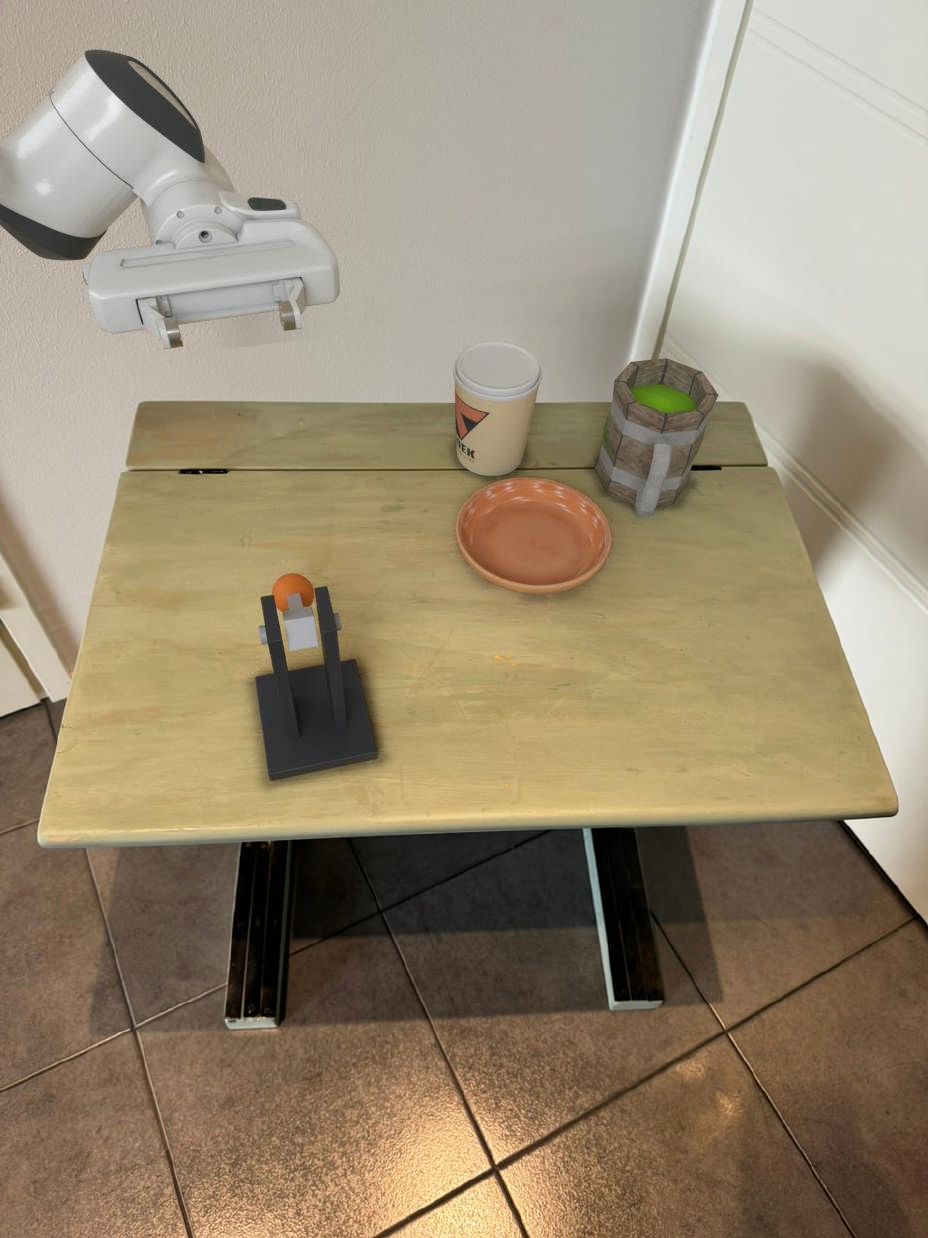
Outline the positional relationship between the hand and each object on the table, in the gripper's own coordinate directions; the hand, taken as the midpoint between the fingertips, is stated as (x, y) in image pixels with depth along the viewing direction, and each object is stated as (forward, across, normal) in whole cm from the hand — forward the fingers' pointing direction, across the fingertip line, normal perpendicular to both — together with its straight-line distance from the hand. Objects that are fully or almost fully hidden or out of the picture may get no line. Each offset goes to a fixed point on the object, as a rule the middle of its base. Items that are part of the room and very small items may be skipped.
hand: (233, 331), depth 66 cm
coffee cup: (-8, +27, +25) cm, 38 cm away
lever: (+18, 0, +16) cm, 24 cm away
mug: (+3, +41, +25) cm, 48 cm away
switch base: (+21, -1, +25) cm, 33 cm away
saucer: (+8, +26, +25) cm, 37 cm away
